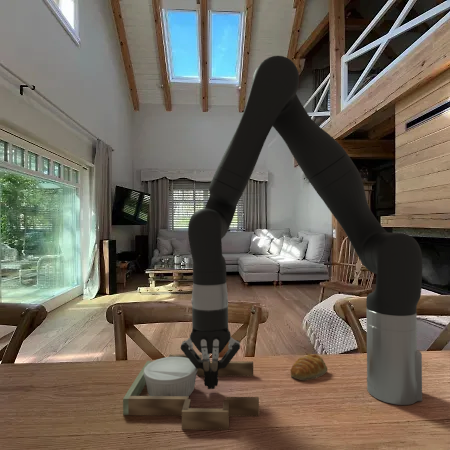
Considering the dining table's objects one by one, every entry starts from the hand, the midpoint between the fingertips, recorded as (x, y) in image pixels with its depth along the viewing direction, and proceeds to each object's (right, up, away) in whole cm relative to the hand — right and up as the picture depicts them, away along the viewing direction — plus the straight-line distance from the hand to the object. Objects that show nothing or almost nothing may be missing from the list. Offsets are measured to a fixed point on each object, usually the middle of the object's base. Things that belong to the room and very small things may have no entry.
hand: (211, 387), depth 68 cm
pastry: (+23, -2, +9) cm, 24 cm away
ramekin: (-8, -1, 0) cm, 8 cm away
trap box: (-3, -1, 0) cm, 3 cm away
